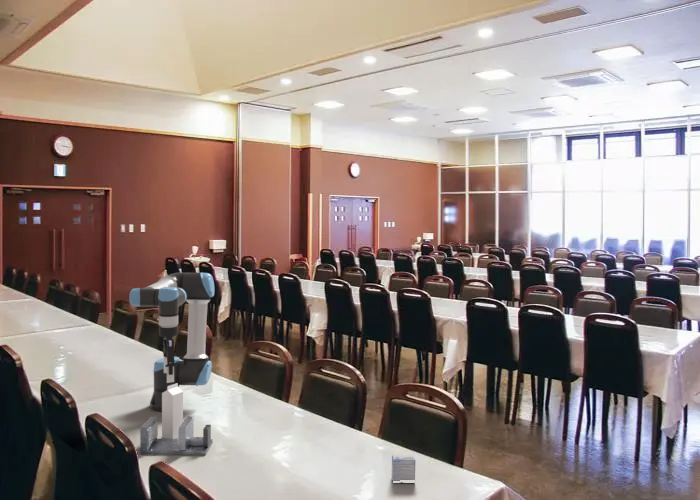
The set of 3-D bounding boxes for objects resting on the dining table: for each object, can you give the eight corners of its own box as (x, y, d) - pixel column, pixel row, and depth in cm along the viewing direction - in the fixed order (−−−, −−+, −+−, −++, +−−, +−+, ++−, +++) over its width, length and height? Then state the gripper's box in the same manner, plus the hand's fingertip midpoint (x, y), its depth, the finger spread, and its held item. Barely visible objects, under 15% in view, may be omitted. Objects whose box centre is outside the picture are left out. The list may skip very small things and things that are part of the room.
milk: (161, 438, 236) (161, 385, 235) (172, 433, 241) (172, 381, 240) (173, 440, 233) (172, 387, 232) (183, 435, 239) (183, 383, 238)
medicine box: (413, 478, 203) (413, 454, 203) (415, 484, 199) (415, 459, 198) (391, 478, 203) (391, 454, 203) (392, 484, 199) (393, 459, 198)
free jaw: (185, 438, 231) (185, 416, 231) (212, 438, 232) (212, 416, 231) (177, 450, 219) (177, 427, 219) (205, 450, 220) (205, 427, 219)
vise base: (150, 442, 231) (150, 416, 231) (212, 442, 232) (212, 417, 231) (140, 454, 219) (140, 427, 219) (205, 455, 220) (205, 428, 219)
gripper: (156, 320, 240) (156, 369, 242) (161, 332, 217) (161, 387, 219) (174, 319, 243) (175, 368, 245) (181, 331, 220) (182, 385, 222)
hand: (168, 377), depth 232 cm, fingers open, 13 cm apart
